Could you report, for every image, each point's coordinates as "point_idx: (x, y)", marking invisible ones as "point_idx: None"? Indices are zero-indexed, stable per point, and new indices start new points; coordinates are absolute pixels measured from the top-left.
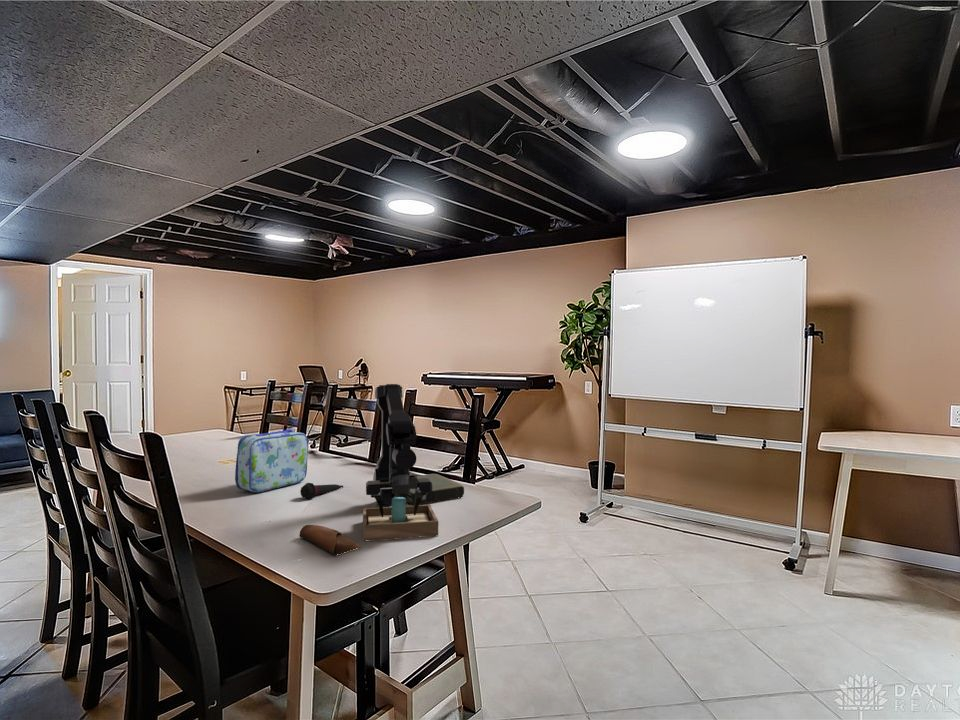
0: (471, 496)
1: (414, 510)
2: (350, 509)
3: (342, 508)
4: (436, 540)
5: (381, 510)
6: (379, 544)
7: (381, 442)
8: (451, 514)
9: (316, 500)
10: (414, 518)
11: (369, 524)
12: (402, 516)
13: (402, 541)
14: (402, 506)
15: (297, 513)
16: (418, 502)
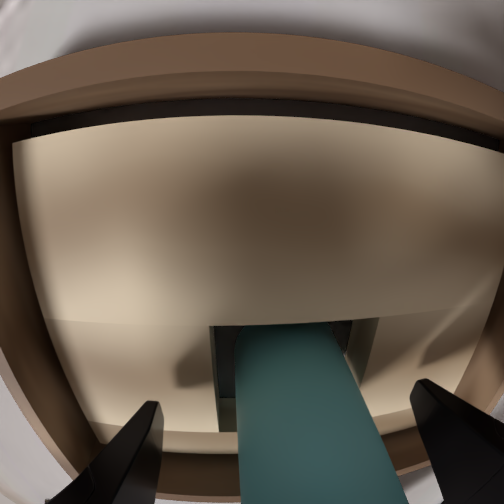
0: (27, 494)
1: (147, 430)
2: (408, 484)
3: (422, 484)
4: (44, 22)
5: (461, 406)
6: (445, 35)
7: None
8: (16, 421)
9: (441, 498)
10: (160, 386)
11: (491, 300)
12: (273, 377)
13: (295, 18)
14: (290, 461)
15: None
16: (85, 486)
